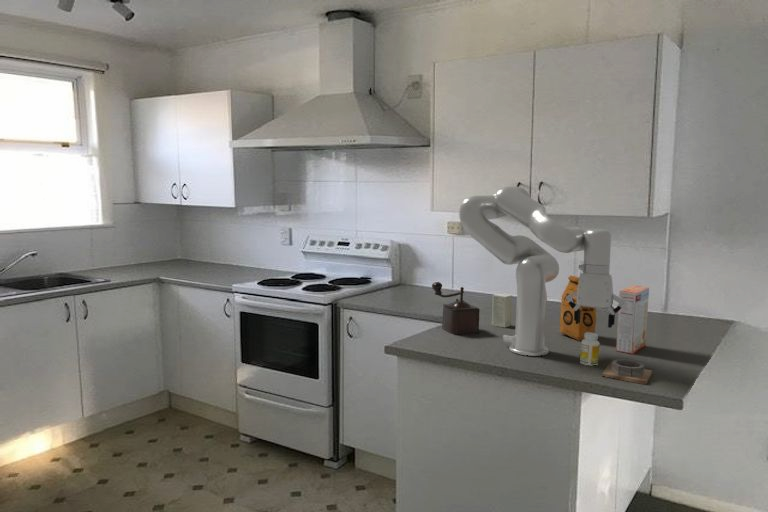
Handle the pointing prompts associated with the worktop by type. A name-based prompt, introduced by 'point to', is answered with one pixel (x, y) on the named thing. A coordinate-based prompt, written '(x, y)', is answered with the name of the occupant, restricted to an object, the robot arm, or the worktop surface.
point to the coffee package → (567, 314)
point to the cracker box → (632, 319)
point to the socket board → (628, 371)
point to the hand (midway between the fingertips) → (593, 325)
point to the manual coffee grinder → (458, 314)
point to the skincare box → (501, 310)
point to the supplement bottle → (589, 349)
